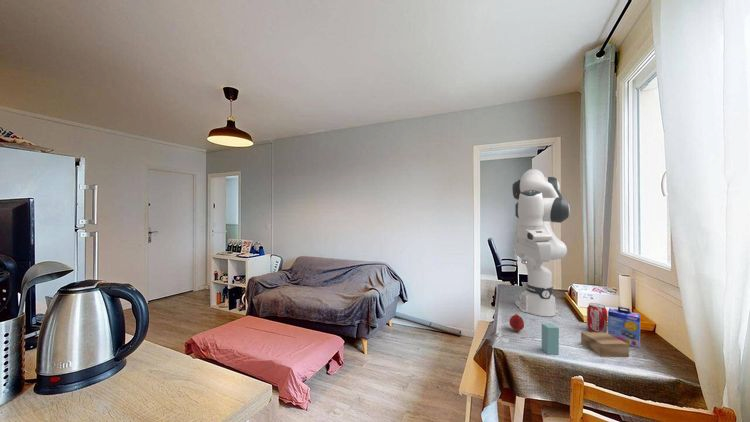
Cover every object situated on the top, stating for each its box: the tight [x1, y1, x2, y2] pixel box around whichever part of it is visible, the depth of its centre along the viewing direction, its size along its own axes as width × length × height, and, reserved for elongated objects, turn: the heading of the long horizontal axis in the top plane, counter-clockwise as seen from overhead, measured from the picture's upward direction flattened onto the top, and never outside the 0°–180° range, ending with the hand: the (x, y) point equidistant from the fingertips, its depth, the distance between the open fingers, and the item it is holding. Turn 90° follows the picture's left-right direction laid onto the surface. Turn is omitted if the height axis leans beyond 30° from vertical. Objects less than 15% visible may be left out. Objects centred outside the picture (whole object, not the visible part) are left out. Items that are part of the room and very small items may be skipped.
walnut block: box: [580, 331, 630, 358], centre depth 106 cm, size 10×10×5 cm
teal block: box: [541, 322, 560, 356], centre depth 104 cm, size 4×4×10 cm
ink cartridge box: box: [607, 306, 641, 348], centre depth 113 cm, size 10×6×14 cm, turn 45°
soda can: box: [586, 302, 608, 333], centre depth 122 cm, size 7×7×12 cm
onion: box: [509, 312, 525, 332], centre depth 122 cm, size 6×6×8 cm
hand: (530, 267), depth 108 cm, fingers open, 8 cm apart
